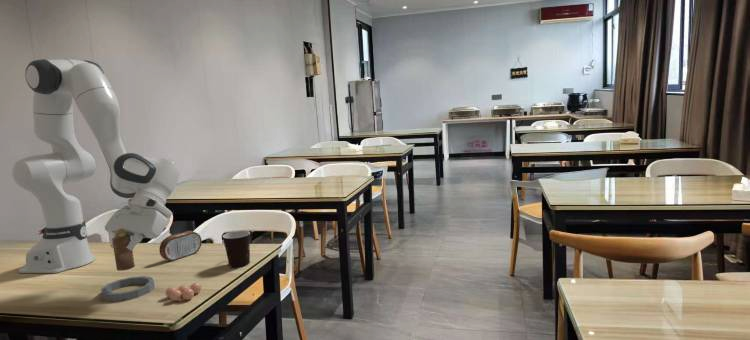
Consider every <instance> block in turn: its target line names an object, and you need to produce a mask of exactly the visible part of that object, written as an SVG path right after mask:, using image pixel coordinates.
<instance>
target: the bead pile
mask: <svg viewBox="0 0 750 340" xmlns="http://www.w3.org/2000/svg"><path fill="white" fill-rule="evenodd" d="M201 290H202V285H201V284H200V283H199V282H193V283H192V284H190V287H189V286H188V285H186V284H182V285H180V286H179V287H178V288H176V287H175V286H169V287H167V288H166V289H165V296H166V297H167V298H169V299H170V300H171V301H173V302H178V301H180V300H182V298H183V299H184V300H185V301H186V300H187V301H189V300H191V299H193V298H194V296H195V294H196V295H197V294H199V293H200V292H201Z"/></svg>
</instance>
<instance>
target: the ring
mask: <svg viewBox="0 0 750 340" xmlns="http://www.w3.org/2000/svg"><path fill="white" fill-rule="evenodd" d="M133 285H143V286H140V287H138V288H136V289H131V290H128V291H127V290H126V291H119V292H112V291H115V290H117V289H120V288H124V287H127V286H128V287H129V286H133ZM153 289H155V281H154V279H153V277H152V276H148V275H147V276H145V275H139V276H131V277H126V278H121V279H118V280H114V281H112V282H109V283H107V284H106V285H104V286H103V287H101V297H102V300H103V301H107V302H121V301H122V302H123V301H127V300H131V299H136V298H140V297H142V296H144V295H146V294H149V293H151V292H152V291H153Z"/></svg>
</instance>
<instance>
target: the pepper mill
mask: <svg viewBox="0 0 750 340" xmlns="http://www.w3.org/2000/svg"><path fill="white" fill-rule="evenodd" d="M115 236H116V237H114V236H113V237H114V238H113V237H112V238H111V240H112V242H113V248H112V249H113V253H114V260H115V265H116V266H115V267H116V271H119V272H120V271H121V272H122V271H127V270H131V269H133V268H135V267H136V265H135V260H134V253H133V250H127V249H125V245H126V244H127V242H130V241H131V240H132V239H131V236H130V235H126V231H125V230H124V229H118V230H117V231H116V232H115Z"/></svg>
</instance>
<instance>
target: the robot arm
mask: <svg viewBox="0 0 750 340" xmlns="http://www.w3.org/2000/svg"><path fill="white" fill-rule="evenodd" d="M104 73H105V72H104V71H103V68H102V67H101V65H100V64H98V63H96V62H94V61H90V60H84V59H83V60H81V59H80V60H79V59H74V58H73V59H71V58H63V59H61V58H60V59H45V58H43V59H42V58H41V59H36V60H32V61H30V62H29V63H28V65H27V66H26V68H25V74H24V75H25V81H26V84H27V85H28V87H29V89H31V91H33V98H32V111H33V116H32V117H33V131H34V134H35V136H36V137H37V138H38V139H39V140H40V141H41V142H42V141H43V142H44V143H47V144H49V145H50V147H51V150H52V151H51V152H50V153H42V154H35V155H31V156H27V157H24V158H21V159H18V160H16V161H15V163H14V164H13V167H12V170H11V174H12V175H11V176H12V178H13V181H14V182H15V184H17V185H18V186H19V187H20V188H22V189H24V190H26V191H28V192H29V193H31V194H32V195H33V196H34V197H35V198H36V199H37V201H38V202H39V204H40V206H41V209H42V213H43V218H44V222H45V227H43V228H42V229H41V230H38V235H42V236H41V237H42V238H41V239H40V240H39V241H37V242H36V244H34V245H33V246H32V247H31V248H30V249H29V250H28V251H27V253H26V256H25V264H24V265H22V266H21V267H19V269H18V273H19V274H56V273H60V272H64V271H67V270H72V269H75V268H79V267H82V266H86V265H88V264H90V263H92V262H94V261H95V256H94V254H93V252H92V249H91V247H90V244H89V242H88V241H89V240H88V238H87V237H88V231H87V224H86V221H85V220H84V215H83V210H82V209H83V208H82V202H81V200H80V199H79V198H78V197H77V196H74V195H72V194H68V193H66V192H65V190H64V189H63V185H65V184H70V183H76V182H80V181H83V180H86V179H88V178H90V177H92V176H93V175H94V173H95V171H96V169H97V165H96V160H95V158H94V157H93V155H92V154H91V153H90V152H88V151H86V150H85V149H84V148H83V147H82V146H81V144H80V143H79V141H78V139H77V136H76V133H75V125H74V123H75V122H74V108H73V100H74V102H75V104H76V106H77V108H78V110H79V112H80V114H81V115H82V117H83V118H84V120H85V122H86V124H87V125H88V127H89V129H90V130H91V132H92V133H93V136H94V137H95V138H96V141H97V143H98V145H99V147H100V150H101V151H102V154H103V157H104V158H105V161H106V164H107V166H108V168H109V171H110V181H109V185H110V188H111V191H112V192H113V193H114V194H115V195H116V196H117V197H120V198H122V199H123V198H124V199H131V200H130V201H129V203H128V205H124V206H123V207H121V208H118V209H117V210H116V211H115V212H113V214H112V216H111V217H110V218H109V220H108V221H107V222H106V224H105V225H104V230H105V231H106V232H107V233H109V234H111V235H112V236H113V237H112V238H114V237H116V236H115V232H116V231H117V230H118V229H124V230H125V231H126V235H130V237H132V239H131V241H130V242H127V244H126V245H125V249H127V250H132V251H133V250H134V248H135V247H136V246H137V245H138V244H140V243H141V242H142V240H143V239H145V238H147V239H154V240H155V239H157V238H159V237H160V236H161V234H162V233H163V231H164V230H165V228H166V226H167V223H168V221H169V219H170V218H171V217H172V215H173V212H172V211H171V210H170V209H169V208H167V206H166V203H167V199H168V198H169V196H171V195H172V193H173V192H174V189H175V188H176V185H177V184H178V181H179V179H180V177H181V171H180V168H179V166H178V165H177V164H176V163H175V162H174V161H173V160H171V159H170V158H168V157H164V156H161V157H148V156H143V155H141V154H138V153H134V152H128V153H127V150H126V148H125V145H124V143H123V141H122V136H121V129H120V128H121V127H120V126H121V108H120V104H119V99H118V98H117V95H116V93H115V91H114V89H113V86H112V85H111V83H110V82H109V80H108V78H107V76H106V75H105V74H104ZM110 247H111V248H112V249H114V248H113V241H112V242H111V243H110Z"/></svg>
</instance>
